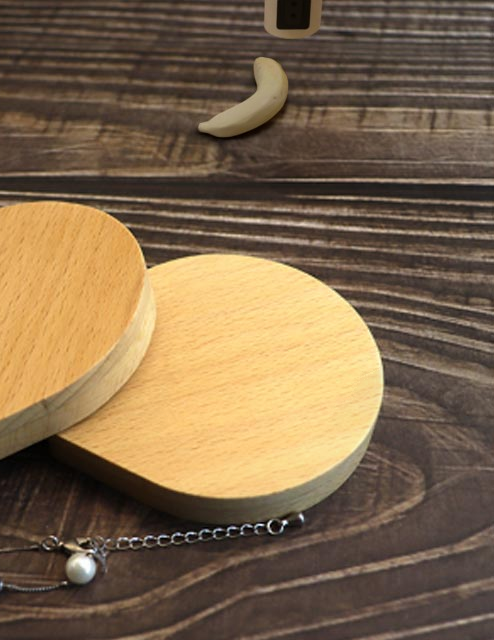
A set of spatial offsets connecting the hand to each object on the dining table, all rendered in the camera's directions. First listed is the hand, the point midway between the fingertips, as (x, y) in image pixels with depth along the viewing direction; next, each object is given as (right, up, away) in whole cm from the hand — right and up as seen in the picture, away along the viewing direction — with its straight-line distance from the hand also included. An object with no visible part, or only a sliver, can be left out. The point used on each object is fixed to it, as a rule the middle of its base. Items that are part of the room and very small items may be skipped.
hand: (293, 10), depth 101 cm
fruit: (-2, -4, +20) cm, 20 cm away
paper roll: (0, -1, +1) cm, 2 cm away
